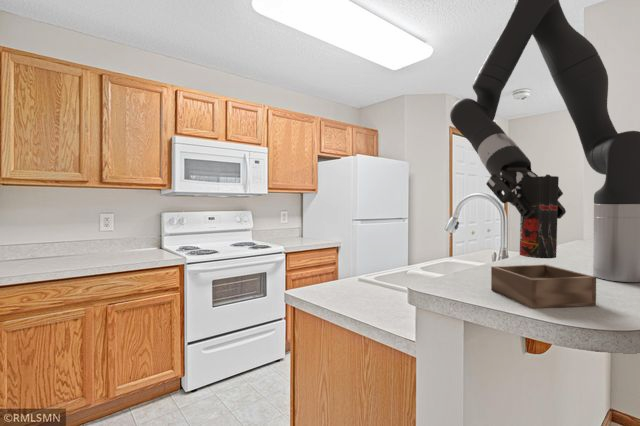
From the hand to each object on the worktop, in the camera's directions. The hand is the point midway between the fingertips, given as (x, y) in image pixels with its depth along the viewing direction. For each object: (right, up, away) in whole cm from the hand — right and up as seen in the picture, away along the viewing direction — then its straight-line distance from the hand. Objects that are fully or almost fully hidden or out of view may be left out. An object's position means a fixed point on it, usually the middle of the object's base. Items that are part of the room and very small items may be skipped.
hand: (546, 215), depth 64 cm
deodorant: (0, -8, +2) cm, 8 cm away
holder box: (0, -16, +2) cm, 16 cm away
